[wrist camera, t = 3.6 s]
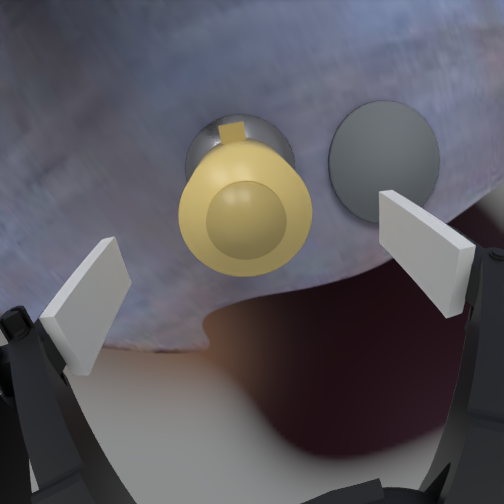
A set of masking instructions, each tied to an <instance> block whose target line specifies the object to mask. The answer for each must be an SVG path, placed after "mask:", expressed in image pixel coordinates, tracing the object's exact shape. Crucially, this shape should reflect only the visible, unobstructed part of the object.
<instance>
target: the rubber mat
mask: <svg viewBox="0 0 504 504" xmlns="http://www.w3.org/2000/svg"><path fill="white" fill-rule="evenodd" d="M328 164H329V174H330V179H331V183H332V186H333V188H334V190H335V192H336V194H337V196H338V197H339V199H340V200H341V202H342V203H343V204H344V205H345V206H346V207H347V208H348V209H349V210H350V211H351V212H352V213H354V214H355V215H356V216H358V217H360V218H362V219H364V220H366V221H369V222H373V223H379V191H387V190H393V191H395V192H397V193H398V194H400V195H402V196H403V197H405V198H406V199H408V200H410V201H411V202H413V203H414V204H416V205H418V206H419V207H422V205H423V204H424V203H425V202H426V201H427V199H428V198H429V196H430V195H431V193H432V191H433V189H434V186H435V184H436V181H437V178H438V173H439V165H440V156H439V148H438V143H437V140H436V137H435V135H434V132H433V130H432V129H431V127H430V125H429V124H428V123H427V121H426V120H425V119H424V118H423V117H422V116H421V115H420V114H419V113H418V112H417V111H415V110H414V109H412V108H411V107H409V106H407V105H405V104H402V103H398V102H394V101H375V102H371V103H367V104H365V105H362V106H360V107H359V108H357V109H355V110H354V111H352V112H351V113H350V114H349V115H348V116H347V117H346V118H345V119H344V120H343V121H342V123H341V124H340V126H339V127H338V128H337V130H336V132H335V134H334V137H333V139H332V142H331V146H330V150H329V159H328Z"/></svg>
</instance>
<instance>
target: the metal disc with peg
mask: <svg viewBox="0 0 504 504" xmlns="http://www.w3.org/2000/svg"><path fill="white" fill-rule="evenodd" d="M241 121H243V123H244V129H245V135H246V138H252V139H256V140H259V141H262V142H264V143H266V144H268V145H269V146H271V147H272V148H273V149H274V150H276V151H277V152H278V153H279V155H280V156H281V157H282V158H283V159H284V160H285V161H286V162H287V163H288V164H289V165H290V166H291V167H292V168H293V170H294V171H295V162H294V156H293V152H292V149H291V147H290V145H289V143H288V141H287V139H286V138H285V136H284V135H283V134H282V133H281V132H280V131H279V130H278V129H277V128H276V127H275V126H273V125H272V124H270V123H269V122H267V121H265V120H263V119H261V118H258V117H255V116H250V115H230V116H226V117H223V118H220V119H217V120H216V121H214V122H212V123H210V124H209V125H208V126H206V127H205V128H204V129H203V130H202V131H201V132H200V133H199V134H198V135H197V136H196V137H195V139H194V140H193V142H192V144H191V146H190V148H189V151H188V154H187V157H186V164H185V173H186V179H187V183H188V182H189V180H190V178H191V176H192V175H193V173H194V171H195V169H196V168H197V166H198V164H199V163H200V161H201V159H202V158H203V156H204V155H205V154H206V153H207V152H208V151H209V150H210V149H211V148H213V147H214V146H215V145H217V144H219V143H221V139H220V134H219V128H218V126H219V125H223V124H229V123H235V122H241Z"/></svg>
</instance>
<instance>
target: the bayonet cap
mask: <svg viewBox="0 0 504 504" xmlns="http://www.w3.org/2000/svg"><path fill="white" fill-rule="evenodd" d="M218 128H219V134H220V139H221V143H219V144H217V145H215V146H214V147H213V148H211V149H210V150H209V151H208V152H207V153H206V154H205V155H204V156H203V158H202V159H201V161H200V163H199V164H198V166H197V168H196V169H195V171H194V173H193V175H192V176H191V178H190V180H189V182H188V183H187V185H186V187H185V189H184V191H183V194H182V196H181V200H180V204H179V225H180V230H181V233H182V236H183V239H184V241H185V243H186V245H187V246H188V248H189V249H190V251H191V252H192V253H193V254H194V255H195V256H196V258H198V259H199V260H200V261H201V262H202V263H203V264H205V265H206V266H208V267H209V268H211V269H213V270H215V271H218V272H220V273H223V274H227V275H231V276H238V277H250V276H258V275H262V274H266V273H269V272H271V271H274V270H276V269H278V268H280V267H281V266H283V265H284V264H286V263H287V262H288V261H289V260H291V259H292V258H293V257H294V256H295V255H296V254H297V253H298V251H299V250H300V249H301V247H302V246H303V244H304V242H305V241H306V239H307V236H308V234H309V231H310V227H311V222H312V204H311V199H310V196H309V192H308V190H307V188H306V186H305V184H304V182H303V181H302V179H301V178H300V176H299V175H298V174H297V173H296V172H295V171H294V170H293V168H292V167H291V166H290V165H289V164H288V163H287V162H286V161H285V160H284V159H283V158H282V157H281V156H280V155H279V153H278V152H277V151H276V150H274V149H273V148H272V147H271V146H269V145H268V144H266V143H264V142H262V141H259V140H256V139H252V138H246V135H245V129H244V123H243V121H241V122H235V123H229V124H223V125H219V126H218Z"/></svg>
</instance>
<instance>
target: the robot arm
mask: <svg viewBox="0 0 504 504" xmlns="http://www.w3.org/2000/svg"><path fill="white" fill-rule="evenodd" d="M379 243H380V244H381V245H382V246H383V247H384V248H385V249H386V250H387V251H388V252H389V253H390V254H391V256H392V257H393V258H394V259H395V260H396V261H397V262H398V263H399V264H400V265H401V266H402V267H403V269H404V270H405V271H406V272H407V273H408V274H409V275H410V276H411V277H412V279H413V280H414V281H415V282H416V283H417V284H418V285H419V287H420V288H421V289H422V290H423V291H424V292H425V293H426V294H427V296H428V297H429V298H430V299H431V300H432V301H433V303H434V304H435V305H436V306H437V308H438V309H439V310H440V311H441V312H442V313H443V315H444V316H445V317H446V318H449V317H452V316H455V315H457V314H461V313H462V311H463V307H464V303H465V299H466V300H467V301H468V302H469V303H470V304H471V307H470V311H469V314H468V318H467V321H466V325H465V328H464V329H465V330H466V337H465V343H464V349H463V354H462V360H461V365H460V370H459V374H458V379H457V383H456V387H455V392H454V396H453V399H452V403H451V407H450V410H449V414H448V417H447V421H446V424H445V427H444V430H443V434H442V437H441V440H440V443H439V445H438V448H437V451H436V454H435V457H434V459H433V462H432V465H431V467H430V469H429V472H428V473H427V475H426V477H425V479H424V480H423V482H422V484H421V486H420V488H419V490H414V489H408V488H400V487H396V488H395V487H385V488H382V486H381V482H380V480H379V478H378V479H375V480H371V481H368V482H365V483H361V484H357V485H353V486H350V487H345V488H341V489H337V490H333V491H330V492H327V493H325V494H323V495H321V496H318V497H316V498H314V499H311V500H309V501H306V502H304V503H301V504H504V250H503V249H499V248H487V249H484V248H483V247H481V246H480V245H478V244H477V243H476V242H475V241H473V240H472V239H469V237H467V236H466V235H465V234H463V233H462V232H460V231H459V230H458V229H456V228H454V227H451V226H449V225H446V224H445V223H443V222H442V221H440V220H439V219H437V218H436V217H434V216H433V215H431V214H430V213H428V212H427V211H425V210H424V209H422V208H421V207H419V206H418V205H416V204H414V203H413V202H411V201H410V200H408V199H406V198H405V197H403V196H402V195H400V194H398V193H397V192H395V191H393V190H387V191H379ZM131 284H132V283H131V281H130V278H129V275H128V273H127V270H126V267H125V264H124V262H123V259H122V256H121V253H120V250H119V247H118V244H117V241H116V238H115V237H110V238H105V239H102V240H101V241H100V242H99V243H98V244H97V246H96V247H95V248H94V249H93V250H92V251H91V253H90V254H89V255H88V256H87V257H86V258H85V260H84V261H83V262H82V263H81V264H80V266H79V267H78V268H77V269H76V270H75V272H74V273H73V274H72V275H71V276H70V278H69V279H68V280H67V281H66V283H65V284H64V285H63V287H62V288H61V289H60V290H59V292H58V293H57V294H56V295H55V296H54V297H53V299H52V300H51V301H50V303H49V304H48V305H47V307H46V308H45V310H44V311H43V312H42V313H41V315H40V316H39V317H38V319H37V320H36V322H35V323H34V324H33V322H32V320H31V319H30V317H29V315H28V313H27V311H26V309H25V308H24V306H16V307H14V308H11V309H10V310H8V311H7V312H5V313H4V314H3V315H2V316H1V317H0V329H1V331H2V333H3V334H4V336H5V338H6V339H7V341H8V344H7V345H4V346H0V393H1V395H0V504H136V502H135V501H134V499H133V498H132V496H131V495H130V494H129V492H128V491H127V489H126V488H125V486H124V485H123V483H122V482H121V480H120V479H119V477H118V475H117V474H116V472H115V471H114V469H113V467H112V466H111V464H110V463H109V461H108V459H107V457H106V456H105V454H104V452H103V450H102V449H101V447H100V445H99V443H98V441H97V440H96V438H95V436H94V434H93V432H92V430H91V428H90V426H89V424H88V422H87V420H86V418H85V416H84V414H83V412H82V410H81V408H80V406H79V404H78V401H77V399H76V397H75V395H74V393H73V390H72V388H71V386H70V383H69V381H68V379H67V377H66V375H65V374H64V373H63V369H64V367H65V365H67V366H68V368H69V369H70V371H71V372H72V374H73V375H89V374H90V372H91V370H92V367H93V365H94V363H95V360H96V358H97V356H98V354H99V351H100V349H101V347H102V345H103V342H104V340H105V338H106V336H107V334H108V331H109V329H110V327H111V325H112V323H113V321H114V319H115V317H116V315H117V312H118V310H119V308H120V306H121V304H122V302H123V300H124V298H125V296H126V294H127V292H128V290H129V288H130V286H131ZM29 459H30V462H31V465H32V469H33V472H34V475H35V478H36V481H37V484H38V487H39V490H38V491H36V492H34V493H32V491H31V482H30V469H29Z"/></svg>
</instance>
